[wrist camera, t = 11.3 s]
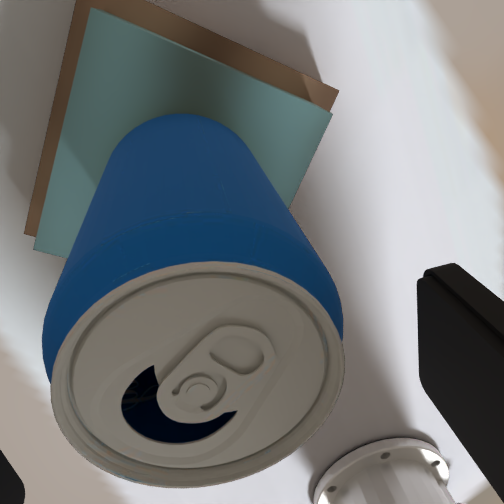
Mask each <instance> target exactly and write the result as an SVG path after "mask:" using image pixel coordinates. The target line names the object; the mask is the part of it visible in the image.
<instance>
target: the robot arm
mask: <svg viewBox="0 0 504 504" xmlns="http://www.w3.org/2000/svg"><path fill="white" fill-rule="evenodd" d="M417 314H418V353H419V377H420V381H421V384H422V387H423V389H424V390H425V392H426V394H427V395H428V396H429V398H430V399H431V401H432V402H433V403H434V405H435V406H436V408H437V409H438V411H439V412H440V413H441V415H442V416H443V418H444V419H445V420H446V422H447V423H448V425H449V426H450V428H451V429H452V430H453V432H454V433H455V435H456V436H457V437H458V439H459V440H460V442H461V443H462V445H463V446H464V447H465V449H466V450H467V452H468V453H469V454H470V456H471V457H472V459H473V460H474V462H475V463H476V464H477V466H478V467H479V469H480V470H481V471H482V473H483V474H484V476H485V477H486V478H487V480H488V481H489V483H490V484H491V486H492V487H493V488H494V490H495V491H496V492H497V494H498V495H499V497H500V498H501V500H502V501H503V503H504V301H502V300H501V299H500V298H499V297H497V296H496V295H495V294H494V293H492V292H491V291H490V290H489V289H487V288H486V287H485V286H484V285H482V284H481V283H480V282H479V281H477V280H476V279H475V278H474V277H472V276H471V275H470V274H469V273H468V272H466V271H465V270H464V269H463V268H461V267H460V266H459V265H457V264H455V263H450V264H446V265H442V266H438V267H434V268H430V269H427V270H426V271H425V272H424V275H423V278H420V279H418V281H417ZM448 477H449V471H448V466H447V464H446V462H445V460H444V458H443V457H442V455H441V454H440V453H439V451H438V450H437V449H436V448H435V447H434V446H432V445H431V444H429V443H427V442H424V441H422V440H418V439H412V438H392V439H385V440H381V441H377V442H373V443H370V444H367V445H365V446H362V447H360V448H358V449H356V450H354V451H352V452H350V453H348V454H347V455H345V456H344V457H342V458H341V459H340V460H338V461H337V462H336V463H334V464H333V465H332V466H331V467H330V468H329V469H328V470H327V471H326V473H325V474H324V475H323V477H322V478H321V479H320V481H319V483H318V485H317V487H316V489H315V493H314V498H313V499H314V504H464V503H455V501H454V500H453V498H452V496H451V495H450V493H449V491H448V490H447V488H446V485H447V483H448ZM24 499H25V488H24V484H23V482H22V480H21V479H20V478H19V476H18V475H17V473H16V472H15V470H14V469H13V467H12V466H11V464H10V463H9V462H8V460H7V459H6V457H5V456H4V454H3V453H2V451H1V450H0V504H23V503H24Z"/></svg>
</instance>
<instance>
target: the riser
mask: <svg viewBox="0 0 504 504" xmlns="http://www.w3.org/2000/svg"><path fill="white" fill-rule="evenodd" d="M338 93H339V90H337V89H335V88H333V87H331V86H328V85H326V84H324V83H322V82H320V81H318V80H315V79H313V78H311V77H309V76H307V75H305V74H302V73H300V72H298V71H296V70H294V69H292V68H290V67H287V66H285V65H283V64H281V63H279V62H277V61H274V60H272V59H270V58H268V57H266V56H264V55H261V54H259V53H257V52H255V51H253V50H251V49H249V48H246V47H244V46H242V45H240V44H238V43H236V42H233V41H231V40H229V39H227V38H225V37H223V36H220V35H218V34H216V33H214V32H212V31H210V30H208V29H205V28H203V27H201V26H199V25H197V24H195V23H192V22H190V21H188V20H186V19H184V18H182V17H179V16H177V15H175V14H173V13H171V12H169V11H167V10H164V9H162V8H160V7H158V6H156V5H154V4H151V3H149V2H147V1H145V0H76V4H75V8H74V13H73V17H72V22H71V26H70V31H69V35H68V39H67V44H66V48H65V53H64V57H63V62H62V66H61V71H60V75H59V79H58V84H57V88H56V93H55V97H54V102H53V106H52V111H51V115H50V119H49V124H48V128H47V133H46V137H45V142H44V146H43V151H42V155H41V159H40V164H39V168H38V173H37V177H36V182H35V186H34V191H33V195H32V199H31V204H30V208H29V213H28V217H27V222H26V226H25V231H24V234H26V235H30V236H34V237H36V240H35V244H34V249H33V250H37V251H41V252H44V253H48V254H52V255H56V256H60V257H64V258H68V257H69V254H70V252H71V249H72V247H73V245H74V242H75V240H76V237H77V235H78V232H79V230H80V228H81V225H82V223H83V220H84V218H85V216H86V213H87V211H88V208H89V206H90V203H91V201H92V199H93V196H94V194H95V191H96V189H97V187H98V184H99V182H100V179H101V177H102V174H103V172H104V170H105V167H106V165H107V162H108V160H109V158H110V156H111V154H112V152H113V150H114V149H115V147H116V146H117V145H118V143H119V142H120V141H121V140H122V139H123V138H124V137H125V135H127V134H128V133H129V132H130V131H131V130H133V129H134V128H135V127H137V126H139V125H140V124H142V123H144V122H146V121H148V120H151V119H153V118H156V117H160V116H164V115H170V114H193V115H199V116H203V117H207V118H210V119H212V120H214V121H217V122H219V123H221V124H223V125H224V126H226V127H228V128H229V129H230V130H232V131H233V132H234V133H235V134H237V135H238V136H239V137H240V138H241V139H242V140H243V142H244V143H245V144H246V145H247V147H248V148H249V149H250V151H251V152H252V154H253V156H254V157H255V159H256V160H257V162H258V163H259V165H260V166H261V168H262V170H263V171H264V173H265V174H266V176H267V177H268V179H269V180H270V182H271V183H272V185H273V187H274V188H275V190H276V191H277V193H278V194H279V196H280V197H281V199H282V201H283V202H284V204H285V205H286V207H287V208H288V209H289V207H290V205H291V202H292V200H293V198H294V196H295V194H296V192H297V190H298V188H299V185H300V183H301V181H302V179H303V177H304V175H305V173H306V170H307V168H308V166H309V164H310V162H311V160H312V158H313V156H314V153H315V151H316V149H317V147H318V145H319V143H320V141H321V139H322V136H323V134H324V132H325V130H326V128H327V126H328V124H329V122H330V119H331V117H332V115H333V114H332V113H330V110H331V108H332V106H333V103H334V101H335V99H336V97H337V95H338Z"/></svg>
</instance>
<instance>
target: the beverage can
mask: <svg viewBox="0 0 504 504" xmlns="http://www.w3.org/2000/svg"><path fill="white" fill-rule="evenodd" d="M342 339H343V314H342V308H341V302H340V298H339V295H338V292H337V289H336V286H335V284H334V282H333V280H332V278H331V276H330V274H329V272H328V270H327V269H326V267H325V266H324V264H323V263H322V261H321V259H320V258H319V256H318V255H317V253H316V252H315V250H314V249H313V247H312V246H311V244H310V242H309V241H308V239H307V238H306V236H305V235H304V233H303V232H302V230H301V228H300V227H299V225H298V224H297V222H296V221H295V219H294V218H293V216H292V214H291V213H290V211H289V210H288V208H287V207H286V205H285V204H284V202H283V201H282V199H281V197H280V196H279V194H278V193H277V191H276V190H275V188H274V187H273V185H272V183H271V182H270V180H269V179H268V177H267V176H266V174H265V173H264V171H263V170H262V168H261V166H260V165H259V163H258V162H257V160H256V159H255V157H254V156H253V154H252V152H251V151H250V149H249V148H248V147H247V145H246V144H245V143H244V142H243V140H242V139H241V138H240V137H239V136H238V135H237V134H235V133H234V132H233V131H232V130H230V129H229V128H228V127H226V126H224V125H223V124H221V123H219V122H217V121H214V120H212V119H210V118H207V117H203V116H199V115H193V114H170V115H164V116H160V117H156V118H153V119H151V120H148V121H146V122H144V123H142V124H140V125H139V126H137V127H135V128H134V129H133V130H131V131H130V132H129V133H128V134H127V135H125V137H124V138H123V139H122V140H121V141H120V142H119V143H118V145H117V146H116V147H115V149H114V150H113V152H112V154H111V156H110V158H109V160H108V162H107V165H106V167H105V170H104V172H103V174H102V177H101V179H100V182H99V184H98V187H97V189H96V191H95V194H94V196H93V199H92V201H91V203H90V206H89V208H88V211H87V213H86V216H85V218H84V220H83V223H82V225H81V228H80V230H79V232H78V235H77V237H76V240H75V242H74V245H73V247H72V249H71V252H70V254H69V257H68V259H67V261H66V264H65V266H64V269H63V271H62V274H61V276H60V278H59V281H58V283H57V286H56V288H55V290H54V293H53V295H52V298H51V300H50V303H49V306H48V309H47V312H46V315H45V319H44V325H43V333H42V350H43V360H44V364H45V369H46V373H47V376H48V379H49V382H50V384H51V403H52V408H53V412H54V416H55V418H56V421H57V423H58V425H59V428H60V430H61V431H62V433H63V434H64V436H65V437H66V439H67V440H68V442H69V443H70V444H71V445H72V446H73V447H74V448H75V450H76V451H77V452H78V453H79V454H81V455H82V456H83V457H84V458H86V459H87V460H88V461H89V462H91V463H92V464H94V465H95V466H97V467H99V468H100V469H102V470H104V471H106V472H108V473H110V474H112V475H114V476H117V477H119V478H122V479H125V480H128V481H131V482H134V483H139V484H143V485H148V486H155V487H163V488H198V487H206V486H213V485H218V484H223V483H227V482H232V481H235V480H238V479H241V478H244V477H247V476H250V475H252V474H255V473H257V472H260V471H262V470H264V469H266V468H268V467H270V466H272V465H274V464H276V463H278V462H279V461H281V460H282V459H284V458H286V457H287V456H289V455H290V454H292V453H293V452H294V451H296V450H297V449H298V448H300V447H301V446H302V445H303V444H304V443H305V442H306V441H308V440H309V439H310V438H311V437H312V436H313V435H314V434H315V433H316V431H317V430H318V429H319V428H320V427H321V426H322V424H323V423H324V422H325V420H326V419H327V417H328V416H329V414H330V413H331V411H332V409H333V407H334V405H335V403H336V401H337V399H338V397H339V394H340V391H341V388H342V384H343V378H344V373H345V357H344V351H343V345H342Z"/></svg>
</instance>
